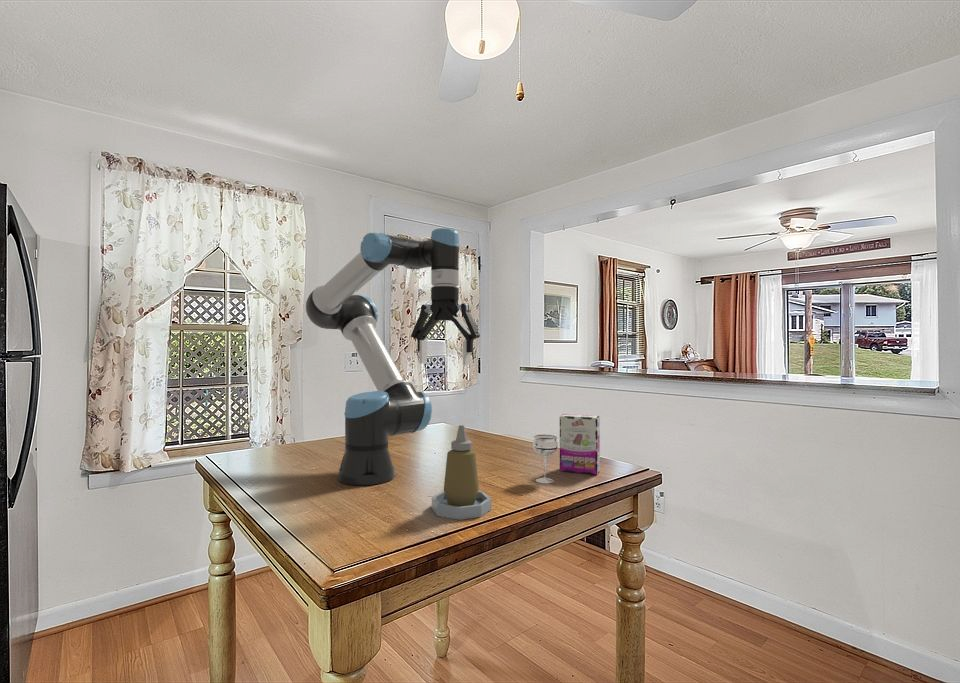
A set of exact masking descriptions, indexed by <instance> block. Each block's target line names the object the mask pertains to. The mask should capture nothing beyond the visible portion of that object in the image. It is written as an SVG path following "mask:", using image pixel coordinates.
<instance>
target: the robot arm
mask: <svg viewBox="0 0 960 683" xmlns="http://www.w3.org/2000/svg"><path fill="white" fill-rule="evenodd" d="M459 240H460V239H459V232H458V230H456V229H452V228H448V227H447V228H445V227H443V228H435V229H433V230H432V231H431V235H430V238H429V239H426V240H416V239H415V240H414V239H409V238H404V237H399V236H395V235H389V234H385V233H381V232H379V233H377V232H369V233H366V234H365V235H364V236H363V237H362V241H361V242H360V246H359V247H360V252H359V253H358V254H356V255H355V256H354V257H353V258H352V259H351V260H349V262H347V264H346V265H344V266H343V267H342V268H341V269H340V270H339V271H338V272H337V273H336V274H335V275H333V277H332V278H330V280H329V281H327V282H326V283H325V284H324V285H319V286H317V287H315V288H314V289H313V290H312V291H311V292H310V294H309V295H308V297H307V299H306V300H305V312H306V315H307V317H308V319H309V320H310V321H311V322H312V324H314V325H315V326H317V327H319V328H321V329H326V330H339V331H340V332H341V334H342V336H343V337H344V338H345V340H348V341H351V343H352V345H353V347H354V348H355V351H356V353H357V355H358V356H359V358H360V360H361V362H362V364H363V366H364V368H365V369H366V372H367V373H368V375H369V377H370V379H371V381H372V382H373V385H374V387H375V389H376V390H373V391H365V392H359V393H356V394H353V395H351V396H349V397H348V398H347V400H346V402H345V407H344V408H345V409H344V410H345V411H344V421H345V422H344V427H345V428H344V430H345V431H344V432H345V434H344V437H345V438H344V439H345V440H344V441H345V442H344V446H345V447H344V454H343V456H342V460H341V463H340V467H339V469H338V474H337V475H338V476H337V477H338V481H339V482H340V483H342V484H344V485H350V486H372V485H378V484H384V483H386V482H389V481H391V480H393V479H394V478H395V467H394V465H393V459H392V457H391V454H390V453H391V452H390V451H389V437H392V436H399V435H405V434H410V433H411V434H413V433H416V432H420V431H423V430H425V428H427V426H428V425H429V424H430V422H431V418H432V413H433V406H432V401H431V398H430V397H429V395H428V394H427V393H425V392H423V391H417V390H416V388H415V386H414V385H413V384H412V382H410V381H408V380H405V379H404V378H403V376H402V374H401V372H400V371H399V368H398V367H397V365H396V363H395V360H393V358H392V356H391V354H390V352H389V351H388V349H387V347H386V346H385V343H384V342H383V340H382V338H381V337H380V335H379V333H378V331H377V330H376V327H377V322H378V318H379V317H378V316H379V315H378V314H377V312H378V308H377V306H376V304H375V302H374V301H373V300H372V299H371V298H370V297H368V296H364V295H363V296H362V295H360V294H355V293H357V292H358V291H359V290H361V289H362V288H363V287H364V286H365V285H366V284H368V283H369V282H370V281H371V280H372V279H373V278H374V277H376V276H377V275H378V274H379V273H380V272H382V271H383V270H384V269H385V268H387V267H388V266H389V265H393V266H394V265H396V266H402V267H404V268H406V269H408V270H420V269H425V268H426V269H427V268H431V272H430V278H431V279H430V280H431V282H430V284H431V285H432V287H431V288H430V299H431V300H430V301H431V304H430V305H429V304H425V303H424V304H421V306H420V313H419V315H418V317H417V319H416V323H415V324H414V327H413V330H412V332H411V334H410V336H411V338H413V339H416V341H417V351H418V352H419V364H421V365H423V364H427V363H428V340H426V339H427V336H428V335H429V333H430V332H431V331H432V329H433V328H434V326H436V324H437V323H438V322H439V321H451V322H452V323H453V324H454V325H455V326H456V328H457V329H458V330H459V332H460V334H462V336H463V337H464V340H462V366H470V365H471V353H473V352H474V340H476V339H479V338H480V337H481V335H480V332H479V330H478V328H477V325H476V323H475V321H474V319H473V316H472V314H471V312H470V304H468V303H461V304H459V294H460V293H459V292H460V291H459V290H460V289H459V288H458V286H459V284H460V281H459V280H460V275H459V272H460V271H459V269H460V268H459V265H460V264H459V263H460V262H459V258H460V256H459V255H460V241H459ZM430 312H431V315H430V316H429V313H430ZM458 312H461V315H462V317H463V320H464V321H465V323H464V322H463V321H462V319H461V317H460V316H459V314H458ZM427 319H428V321H427ZM465 324H466V325H465Z"/></svg>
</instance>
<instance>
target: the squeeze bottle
mask: <svg viewBox="0 0 960 683" xmlns="http://www.w3.org/2000/svg"><path fill="white" fill-rule="evenodd" d="M466 432H467V431H466V428H465V424H464V425H463V424H461V425H458V428H457V434H456V438H455V440H452V441H451V449H450V450H449V451H447V454H446V455H447V456H446V462H445V474H444V483H443V484H444V485H443V491H444V492H445V495H446V498H447V501H448V504H449V505H452V506H457V507H461V506H470V505H474V503H475V499H476V496H477V493H478V491H480V487H479V476H478V467H477V466H478V464H477V455H476V452H475V450H472V445H473V444H472V440H469V439H468V438H467V434H466Z"/></svg>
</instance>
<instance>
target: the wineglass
mask: <svg viewBox="0 0 960 683" xmlns="http://www.w3.org/2000/svg"><path fill="white" fill-rule="evenodd" d="M532 438H533V439H534V440H533V442H532V447H533V450H534V451H535V452H536V453H537V454H538V455H540V456H541V457H542V458H543V473H544V474H543V475H544V476H543V477H540V478H536V479H535V481H536V482H537V483H539V484H552V483H554V482H555V480H554V479H552V478H549V477H547V460H548V458H549V456H551V455H553V454H554V453H555V452H556V451H557V450H558V448H559V447H558V445H559V444H558V441H557V439H558V436H557V435H553V434H535V435H533V436H532Z"/></svg>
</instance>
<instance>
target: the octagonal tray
mask: <svg viewBox="0 0 960 683" xmlns="http://www.w3.org/2000/svg"><path fill="white" fill-rule="evenodd" d="M431 509H432V511H433V512H434V513H435V514H436V515H435V516H437V517H443V518H447V519H451V520H453V519H454V520H458V521H459V520H467V519H468V518H469V519H477V518H482V517H483V516H485V515H486V514H487V513H489V512H490V511H491V510H492V498H491V497H490V496H489V495H488V494H487V493H485V492H484V491H481V490H478V493H477V496H476V499H475V503H474V505H470V506H461V507H457V506H452V505H449V504H448V501H447V498H446V495H445V492H444V490H442V491H441V492H439V493H437V494H435V495H433V496H431ZM488 511H489V512H488Z"/></svg>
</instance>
